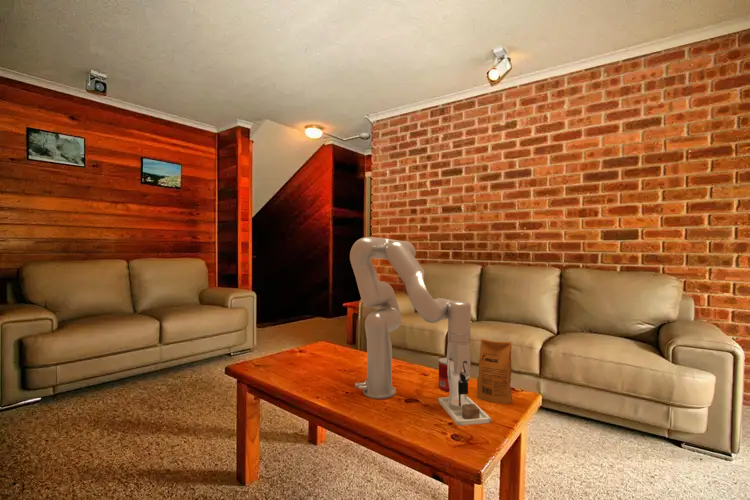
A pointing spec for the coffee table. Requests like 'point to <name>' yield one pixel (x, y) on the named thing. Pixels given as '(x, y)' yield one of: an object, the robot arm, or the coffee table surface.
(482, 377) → the coffee package
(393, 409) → the coffee table surface
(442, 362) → the canned food
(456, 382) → the beer glass
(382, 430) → the coffee table surface
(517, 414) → the coffee table surface
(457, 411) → the tray
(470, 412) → the walnut block
